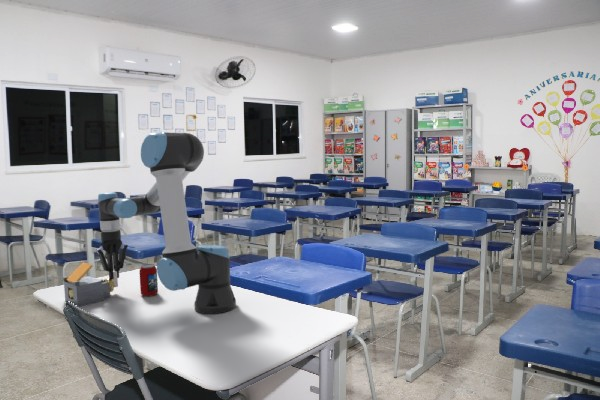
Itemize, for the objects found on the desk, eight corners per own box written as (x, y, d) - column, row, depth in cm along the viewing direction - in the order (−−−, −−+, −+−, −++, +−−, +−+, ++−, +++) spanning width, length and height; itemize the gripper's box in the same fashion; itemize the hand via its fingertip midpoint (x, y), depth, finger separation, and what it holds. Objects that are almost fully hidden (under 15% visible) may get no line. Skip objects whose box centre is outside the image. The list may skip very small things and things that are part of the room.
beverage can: (155, 296, 195) (153, 267, 194) (138, 297, 195) (136, 267, 194) (160, 292, 202) (158, 263, 201) (144, 292, 202) (142, 264, 201)
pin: (107, 290, 202) (107, 277, 202) (114, 292, 198) (113, 279, 198) (68, 299, 191) (67, 285, 190) (74, 302, 187) (73, 288, 186)
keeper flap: (93, 266, 190) (91, 264, 190) (76, 284, 186) (74, 282, 185) (84, 263, 196) (82, 261, 195) (67, 280, 191) (66, 279, 191)
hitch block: (113, 298, 195) (111, 274, 194) (77, 307, 184) (75, 282, 183) (99, 292, 203) (98, 270, 202) (64, 301, 193) (62, 277, 192)
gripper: (121, 227, 206) (125, 281, 209) (90, 231, 197) (95, 288, 199) (129, 228, 201) (133, 284, 203) (99, 233, 192) (103, 291, 194)
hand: (114, 286), depth 201 cm, fingers closed
